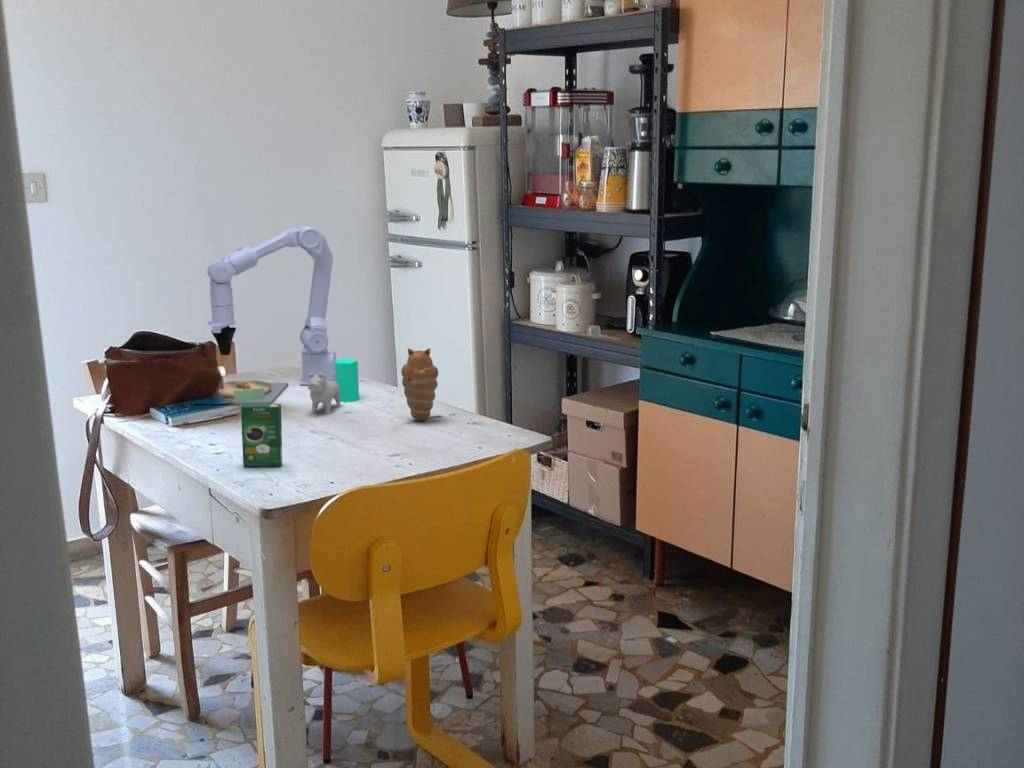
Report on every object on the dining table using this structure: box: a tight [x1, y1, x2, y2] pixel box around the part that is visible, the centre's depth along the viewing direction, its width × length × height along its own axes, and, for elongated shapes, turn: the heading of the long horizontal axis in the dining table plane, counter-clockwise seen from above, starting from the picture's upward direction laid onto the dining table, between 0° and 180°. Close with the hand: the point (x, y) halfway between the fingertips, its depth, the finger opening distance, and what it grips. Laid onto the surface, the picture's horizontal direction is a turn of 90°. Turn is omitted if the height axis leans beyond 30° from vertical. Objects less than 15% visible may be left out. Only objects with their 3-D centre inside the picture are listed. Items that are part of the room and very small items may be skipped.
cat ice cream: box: [400, 348, 439, 422], centre depth 237 cm, size 9×8×18 cm
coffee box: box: [240, 403, 283, 468], centre depth 203 cm, size 8×3×13 cm, turn 93°
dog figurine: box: [307, 373, 341, 415], centre depth 247 cm, size 5×13×11 cm, turn 168°
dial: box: [219, 376, 271, 398], centre depth 263 cm, size 15×16×4 cm
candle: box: [335, 354, 360, 403], centre depth 259 cm, size 6×6×12 cm
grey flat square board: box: [224, 382, 289, 406], centre depth 264 cm, size 20×22×1 cm
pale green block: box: [234, 387, 265, 401], centre depth 256 cm, size 8×2×3 cm, turn 116°
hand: (225, 354), depth 268 cm, fingers closed
